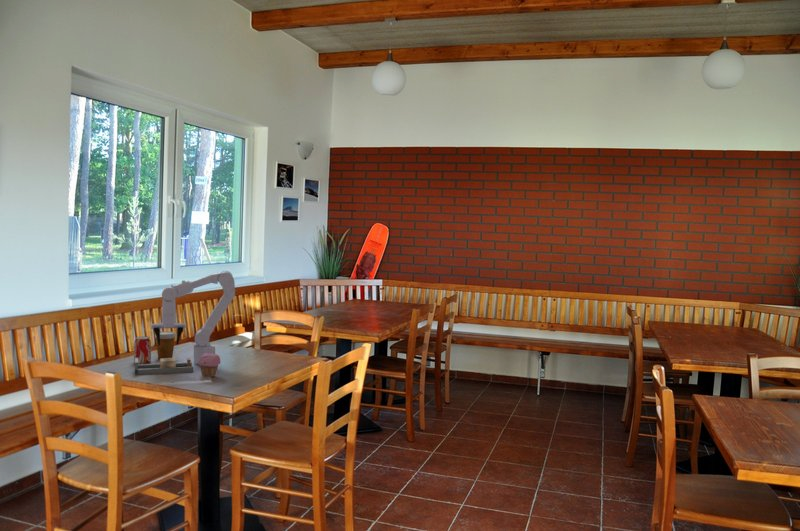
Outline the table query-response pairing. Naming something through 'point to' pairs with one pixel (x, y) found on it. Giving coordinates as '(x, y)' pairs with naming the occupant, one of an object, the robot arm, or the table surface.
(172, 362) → the block
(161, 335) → the disposable coffee cup
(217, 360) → the cupcake
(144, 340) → the soda can
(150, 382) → the table surface
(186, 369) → the lane
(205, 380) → the table surface
